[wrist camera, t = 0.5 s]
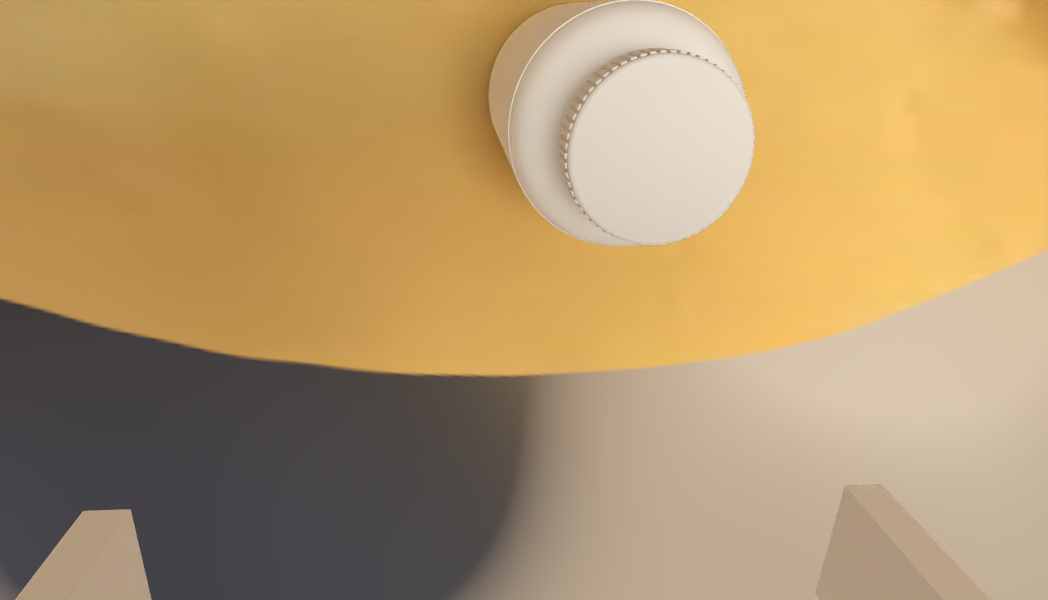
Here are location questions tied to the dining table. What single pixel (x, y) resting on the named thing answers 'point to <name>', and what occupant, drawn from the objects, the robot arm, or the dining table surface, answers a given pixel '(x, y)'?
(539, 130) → the pill bottle
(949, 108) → the dining table surface
